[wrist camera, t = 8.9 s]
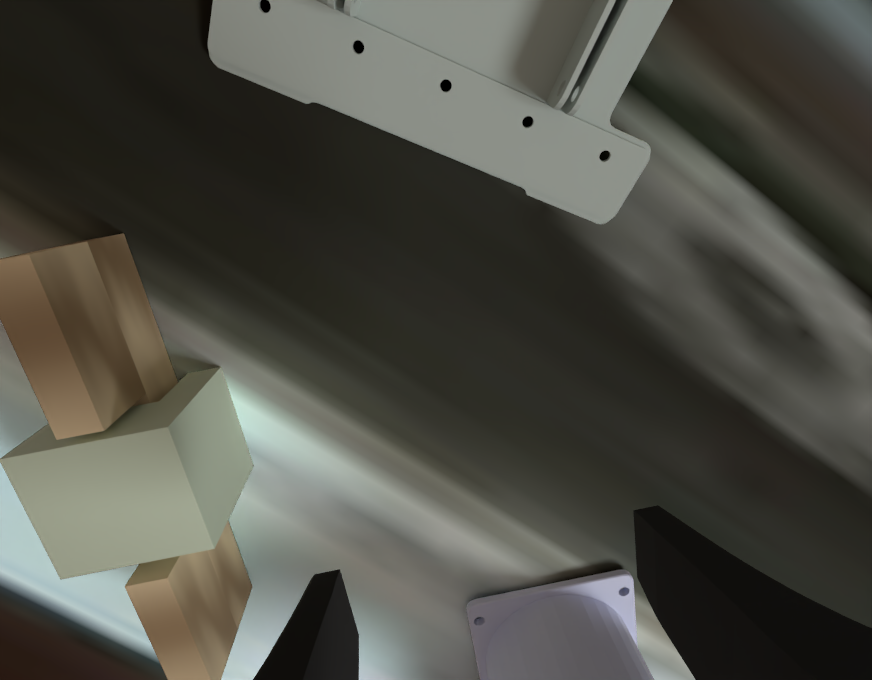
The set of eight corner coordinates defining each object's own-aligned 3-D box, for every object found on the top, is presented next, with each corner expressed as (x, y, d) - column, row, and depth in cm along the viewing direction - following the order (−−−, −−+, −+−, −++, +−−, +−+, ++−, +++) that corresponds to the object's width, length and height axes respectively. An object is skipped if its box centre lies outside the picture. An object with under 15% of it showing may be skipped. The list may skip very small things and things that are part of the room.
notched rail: (252, 586, 23) (216, 692, 18) (221, 592, 23) (177, 700, 18) (123, 233, 18) (28, 254, 13) (84, 240, 18) (-26, 264, 13)
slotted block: (253, 465, 21) (214, 548, 17) (134, 488, 21) (60, 579, 17) (221, 366, 20) (167, 426, 15) (92, 391, 20) (-2, 459, 15)
